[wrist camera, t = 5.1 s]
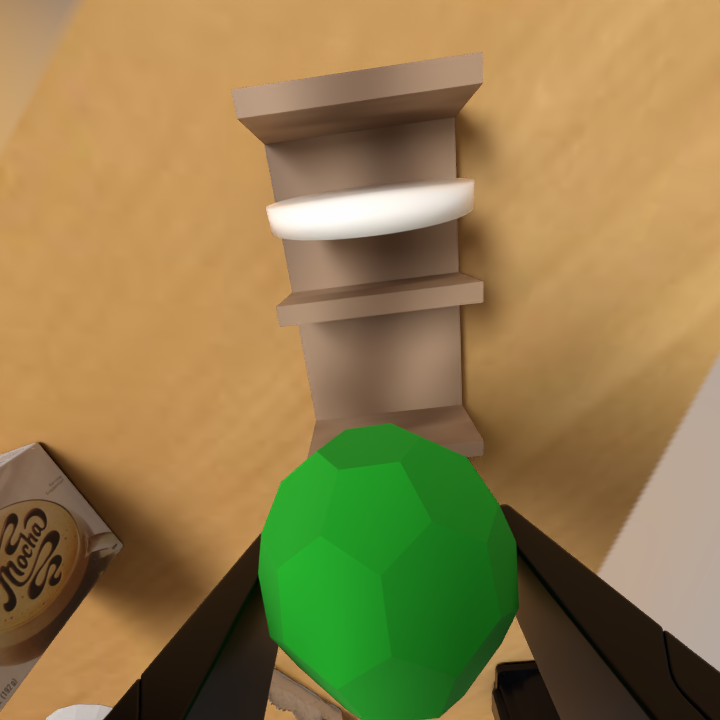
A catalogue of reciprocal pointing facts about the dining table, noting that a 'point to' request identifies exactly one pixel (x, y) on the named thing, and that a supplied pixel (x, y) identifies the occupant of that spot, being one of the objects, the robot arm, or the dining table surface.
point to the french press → (80, 712)
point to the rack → (374, 245)
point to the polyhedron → (388, 573)
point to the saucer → (372, 209)
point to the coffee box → (42, 558)
